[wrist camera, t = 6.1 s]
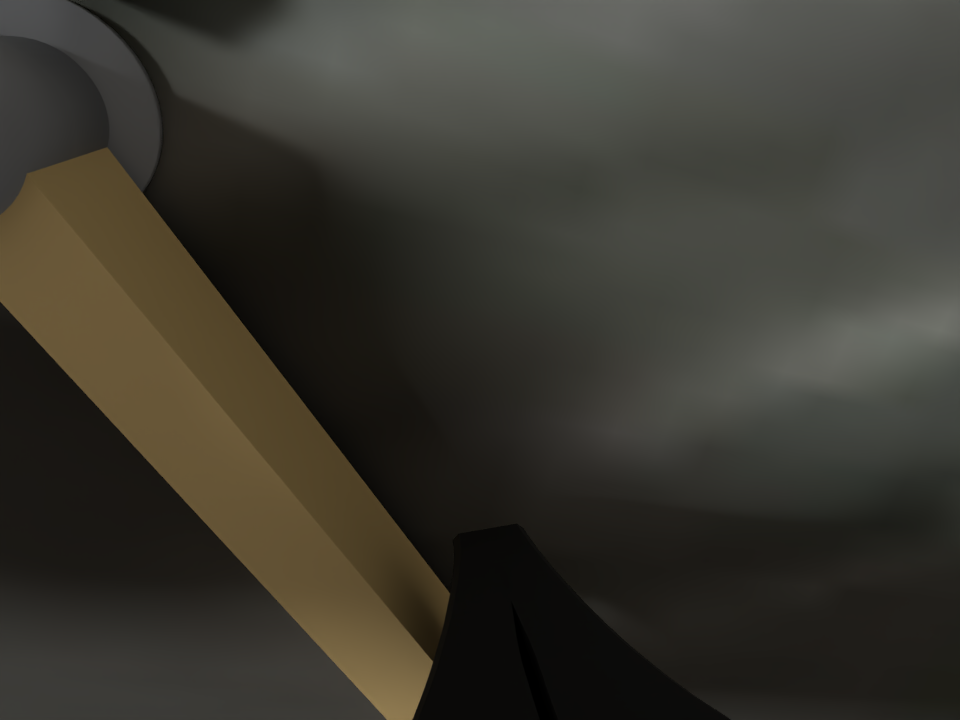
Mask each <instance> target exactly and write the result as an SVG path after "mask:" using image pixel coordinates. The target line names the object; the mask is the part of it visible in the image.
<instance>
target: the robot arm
mask: <svg viewBox="0 0 960 720" xmlns="http://www.w3.org/2000/svg"><path fill="white" fill-rule="evenodd" d="M453 544H454V569H453V578H452V585H451V592H450V596H449V601H448V606H447V611H446V616H445V621H444V625H443V629H442V633H441V636H440V640H439V643H438V647H437V650H436V654H435V657H434V660H433V664H432V667H431V670H430V673H429V676H428V679H427V682H426V685H425V688H424V691H423V694H422V696H421V699H420V702H419V704H418V707H417V709H416V712H415V714H414V717H413V719H412V720H731V719H729V718H728V717H726V716H725V715H723V714H721V713H720V712H718V711H717V710H715V709H714V708H712V707H711V706H709V705H707V704H706V703H704V702H703V701H701V700H700V699H698V698H697V697H695V696H694V695H693V694H691V693H690V692H688V691H687V690H686V689H684V688H683V687H682V686H680V685H679V684H678V683H676V682H675V681H674V680H672V679H671V678H669V677H668V676H667V675H665V674H664V673H663V672H662V671H660V670H659V669H658V668H657V667H655V666H654V665H653V664H652V663H650V662H649V661H648V660H647V659H645V658H644V657H643V656H642V655H641V654H639V653H638V652H637V651H636V650H635V649H633V648H632V647H631V646H630V645H629V644H628V643H627V642H625V641H624V640H623V639H622V638H621V637H620V636H619V635H618V634H617V633H616V632H614V631H613V630H612V629H611V628H610V627H609V626H608V625H607V624H606V623H605V622H604V621H603V620H602V619H601V618H600V617H599V616H598V615H597V614H596V613H595V612H594V611H593V610H592V609H591V608H590V607H589V606H588V605H587V604H586V603H585V602H584V601H583V600H582V599H581V598H580V597H579V596H578V595H577V594H576V593H575V592H574V591H573V589H572V588H571V587H570V586H569V585H568V584H567V583H566V582H565V581H564V580H563V579H562V577H561V576H560V575H559V574H558V573H557V572H556V571H555V569H554V568H553V567H552V566H551V565H550V563H549V562H548V561H547V560H546V559H545V557H544V556H543V555H542V554H541V552H540V551H539V550H538V548H537V547H536V546H535V544H534V543H533V542H532V540H531V539H530V538H529V536H528V535H527V533H526V532H525V530H524V529H523V528H522V527H521V526H519V525H518V524H513V525H507V526H501V527H496V528H490V529H484V530H478V531H472V532H466V533H461V534H458V535H457V537H456V538H455V539H454V540H453Z"/></svg>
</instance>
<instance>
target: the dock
mask: <svg viewBox="0 0 960 720" xmlns="http://www.w3.org/2000/svg"><path fill="white" fill-rule="evenodd" d="M0 35H3V36H16V37H25V38H30V39H34V40H37V41H40V42H43V43H46V44H48V45H50V46H52V47H54V48H56V49H58V50H60V51H61V52H63V53H64V54H66V55H67V56H69V57H70V58H71V59H73V60H74V61H75V62H76V63H77V64H78V65H79V66H80V67H81V68H82V69H83V70H84V71H85V72H86V73H87V74H88V76H89V77H90V78H91V79H92V81H93V82H94V84H95V85H96V87H97V89H98V90H99V92H100V94H101V96H102V99H103V101H104V104H105V107H106V110H107V114H108V119H109V141H108V149H109V150H110V151H111V153H112V154H113V155H114V157H115V158H116V159H117V160H118V162H119V163H120V164H121V166H122V167H123V168H124V170H125V171H126V172H127V174H128V175H129V176H130V177H131V179H132V180H133V181H134V183H135V184H136V185H137V187H138V188H139V189H140V190H141V192H142V193H143V191H144V190H145V189H146V187H147V186H148V185H149V183H150V181H151V179H152V177H153V175H154V174H155V171H156V168H157V165H158V162H159V159H160V154H161V149H162V139H163V126H162V115H161V110H160V106H159V101H158V98H157V95H156V92H155V89H154V86H153V84H152V82H151V80H150V78H149V76H148V73H147V71H146V70H145V68H144V66H143V65H142V63H141V62H140V60H139V58H138V57H137V55H136V54H135V53H134V51H133V50H132V49H131V48H130V46H129V45H128V44H127V43H126V41H125V40H124V39H123V38H122V37H121V36H120V35H119V34H118V33H117V32H116V31H115V30H114V29H113V28H111V27H110V26H109V25H108V24H107V23H105V22H104V21H103V20H102V19H100V18H99V17H98V16H96V15H95V14H93V13H91V12H90V11H88V10H87V9H85V8H84V7H82V6H80V5H78V4H76V3H74V2H72V1H70V0H0Z"/></svg>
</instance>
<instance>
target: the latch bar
mask: <svg viewBox="0 0 960 720" xmlns="http://www.w3.org/2000/svg"><path fill="white" fill-rule="evenodd" d="M108 141H109V119H108V114H107V110H106V107H105V104H104V101H103V99H102V96H101V94H100V92H99V90H98V89H97V87H96V85H95V84H94V82H93V81H92V79H91V78H90V77H89V76H88V74H87V73H86V72H85V71H84V70H83V69H82V68H81V67H80V66H79V65H78V64H77V63H76V62H75V61H74V60H73V59H71V58H70V57H69V56H67V55H66V54H64V53H63V52H61V51H60V50H58V49H56V48H54V47H52V46H50V45H48V44H46V43H43V42H40V41H37V40H34V39H30V38H25V37H16V36H3V35H0V302H1V303H2V304H3V305H4V306H5V307H6V308H7V309H8V311H9V312H10V313H11V314H12V315H13V316H14V317H15V318H16V319H17V320H18V321H19V322H20V323H21V325H22V326H23V327H24V328H25V329H26V330H27V331H28V332H29V333H30V334H31V335H32V336H33V338H34V339H35V340H36V341H37V342H38V343H39V344H40V345H41V346H42V347H43V348H44V349H45V351H46V352H47V353H48V354H49V355H50V356H51V357H52V358H53V359H54V360H55V361H56V362H57V363H58V365H59V366H60V367H61V368H62V369H63V370H64V371H65V372H66V373H67V374H68V375H69V376H70V378H71V379H72V380H73V381H74V382H75V383H76V384H77V385H78V386H79V387H80V388H81V389H82V390H83V392H84V393H85V394H86V395H87V396H88V397H89V398H90V399H91V400H92V401H93V402H94V403H95V405H96V406H97V407H98V408H99V409H100V410H101V411H102V412H103V413H104V414H105V415H106V416H107V417H108V419H109V420H110V421H111V422H112V423H113V424H114V425H115V426H116V427H117V428H118V429H119V430H120V432H121V433H122V434H123V435H124V436H125V437H126V438H127V439H128V440H129V441H130V442H131V443H132V444H133V446H134V447H135V448H136V449H137V450H138V451H139V452H140V453H141V454H142V455H143V456H144V457H145V459H146V460H147V461H148V462H149V463H150V464H151V465H152V466H153V467H154V468H155V469H156V470H157V472H158V473H159V474H160V475H161V476H162V477H163V478H164V479H165V480H166V481H167V482H168V483H169V484H170V486H171V487H172V488H173V489H174V490H175V491H176V492H177V493H178V494H179V495H180V496H181V497H182V499H183V500H184V501H185V502H186V503H187V504H188V505H189V506H190V507H191V508H192V509H193V510H194V511H195V513H196V514H197V515H198V516H199V517H200V518H201V519H202V520H203V521H204V522H205V523H206V524H207V526H208V527H209V528H210V529H211V530H212V531H213V532H214V533H215V534H216V535H217V536H218V537H219V538H220V540H221V541H222V542H223V543H224V544H225V545H226V546H227V547H228V548H229V549H230V550H231V551H232V553H233V554H234V555H235V556H236V557H237V558H238V559H239V560H240V561H241V562H242V563H243V564H244V565H245V567H246V568H247V569H248V570H249V571H250V572H251V573H252V574H253V575H254V576H255V577H256V578H257V580H258V581H259V582H260V583H261V584H262V585H263V586H264V587H265V588H266V589H267V590H268V591H269V593H270V594H271V595H272V596H273V597H274V598H275V599H276V600H277V601H278V602H279V603H280V604H281V605H282V607H283V608H284V609H285V610H286V611H287V612H288V613H289V614H290V615H291V616H292V617H293V618H294V620H295V621H296V622H297V623H298V624H299V625H300V626H301V627H302V628H303V629H304V630H305V631H306V632H307V634H308V635H309V636H310V637H311V638H312V639H313V640H314V641H315V642H316V643H317V644H318V645H319V647H320V648H321V649H322V650H323V651H324V652H325V653H326V654H327V655H328V656H329V657H330V658H331V659H332V661H333V662H334V663H335V664H336V665H337V666H338V667H339V668H340V669H341V670H342V671H343V672H344V674H345V675H346V676H347V677H348V678H349V679H350V680H351V681H352V682H353V683H354V684H355V685H356V686H357V688H358V689H359V690H360V691H361V692H362V693H363V694H364V695H365V696H366V697H367V698H368V699H369V701H370V702H371V703H372V704H373V705H374V706H375V707H376V708H377V709H378V710H379V711H380V712H381V714H382V715H383V716H384V717H385V718H386V719H387V720H412V719H413V717H414V714H415V712H416V709H417V707H418V704H419V702H420V699H421V696H422V694H423V691H424V688H425V685H426V682H427V679H428V676H429V673H430V670H431V667H432V664H433V660H434V657H435V654H436V650H437V647H438V643H439V640H440V636H441V633H442V629H443V625H444V621H445V616H446V611H447V606H448V601H449V596H450V593H449V592H448V590H447V589H446V588H445V586H444V585H443V584H442V583H441V581H440V580H439V579H438V577H437V576H436V575H435V573H434V572H433V571H432V570H431V568H430V567H429V566H428V564H427V563H426V562H425V560H424V559H423V558H422V557H421V555H420V554H419V553H418V551H417V550H416V549H415V547H414V546H413V545H412V543H411V542H410V541H409V540H408V538H407V537H406V536H405V534H404V533H403V532H402V530H401V529H400V528H399V527H398V525H397V524H396V523H395V521H394V520H393V519H392V517H391V516H390V515H389V514H388V512H387V511H386V510H385V508H384V507H383V506H382V504H381V503H380V502H379V501H378V499H377V498H376V497H375V495H374V494H373V493H372V491H371V490H370V489H369V487H368V486H367V485H366V484H365V482H364V481H363V480H362V478H361V477H360V476H359V474H358V473H357V472H356V471H355V469H354V468H353V467H352V465H351V464H350V463H349V461H348V460H347V459H346V458H345V456H344V455H343V454H342V452H341V451H340V450H339V448H338V447H337V446H336V444H335V443H334V442H333V441H332V439H331V438H330V437H329V435H328V434H327V433H326V431H325V430H324V429H323V428H322V426H321V425H320V424H319V422H318V421H317V420H316V418H315V417H314V416H313V415H312V413H311V412H310V411H309V409H308V408H307V407H306V405H305V404H304V403H303V401H302V400H301V399H300V398H299V396H298V395H297V394H296V392H295V391H294V390H293V388H292V387H291V386H290V385H289V383H288V382H287V381H286V379H285V378H284V377H283V375H282V374H281V373H280V372H279V370H278V369H277V368H276V366H275V365H274V364H273V362H272V361H271V360H270V358H269V357H268V356H267V355H266V353H265V352H264V351H263V349H262V348H261V347H260V345H259V344H258V343H257V342H256V340H255V339H254V338H253V336H252V335H251V334H250V332H249V331H248V330H247V329H246V327H245V326H244V325H243V323H242V322H241V321H240V319H239V318H238V317H237V316H236V314H235V313H234V312H233V310H232V309H231V308H230V306H229V305H228V304H227V302H226V301H225V300H224V299H223V297H222V296H221V295H220V293H219V292H218V291H217V289H216V288H215V287H214V286H213V284H212V283H211V282H210V280H209V279H208V278H207V276H206V275H205V274H204V273H203V271H202V270H201V269H200V267H199V266H198V265H197V263H196V262H195V261H194V259H193V258H192V257H191V256H190V254H189V253H188V252H187V250H186V249H185V248H184V246H183V245H182V244H181V243H180V241H179V240H178V239H177V237H176V236H175V235H174V233H173V232H172V231H171V230H170V228H169V227H168V226H167V224H166V223H165V222H164V220H163V219H162V218H161V216H160V215H159V214H158V213H157V211H156V210H155V209H154V207H153V206H152V205H151V203H150V202H149V201H148V200H147V198H146V197H145V196H144V194H143V193H142V192H141V190H140V189H139V188H138V187H137V185H136V184H135V183H134V181H133V180H132V179H131V177H130V176H129V175H128V174H127V172H126V171H125V170H124V168H123V167H122V166H121V164H120V163H119V162H118V160H117V159H116V158H115V157H114V155H113V154H112V153H111V151H110V150H109V149H108Z"/></svg>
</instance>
